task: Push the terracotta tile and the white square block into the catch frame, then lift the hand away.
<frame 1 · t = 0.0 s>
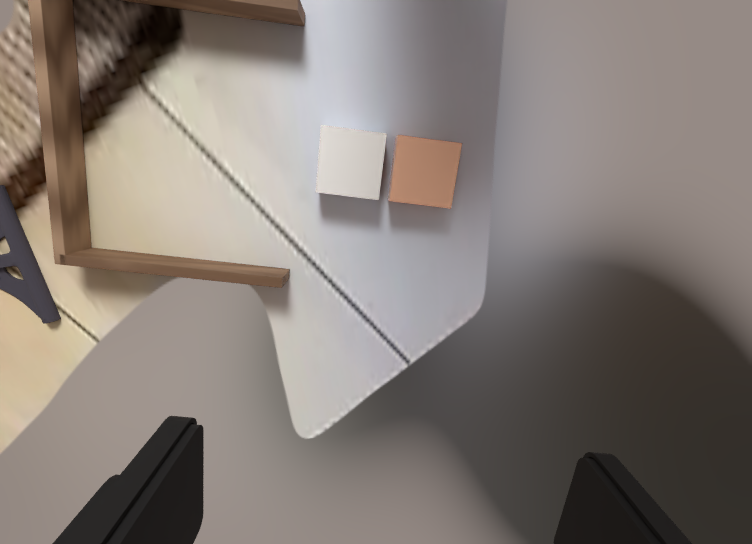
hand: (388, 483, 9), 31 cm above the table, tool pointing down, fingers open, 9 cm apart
white square block: (351, 164, 38), on the table
terracotta tile: (420, 172, 38), on the table
catch frame: (188, 143, 36), on the table
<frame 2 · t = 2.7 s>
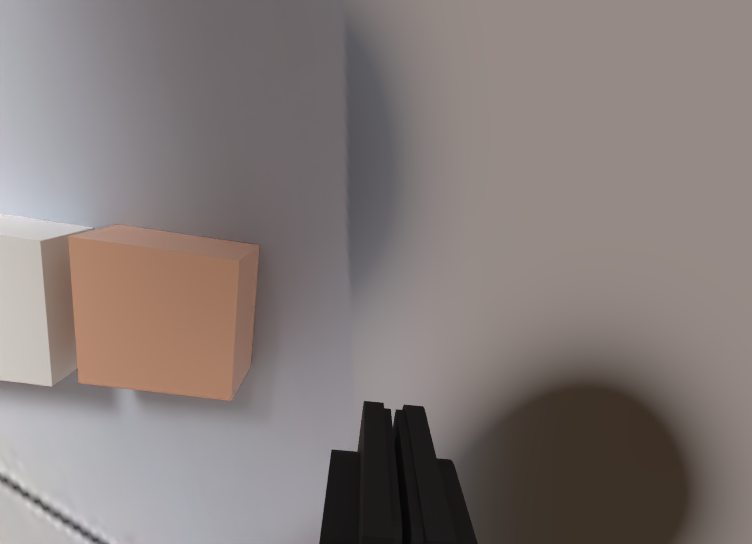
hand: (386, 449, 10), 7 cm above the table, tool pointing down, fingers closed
white square block: (31, 281, 17), on the table
terracotta tile: (190, 297, 17), on the table
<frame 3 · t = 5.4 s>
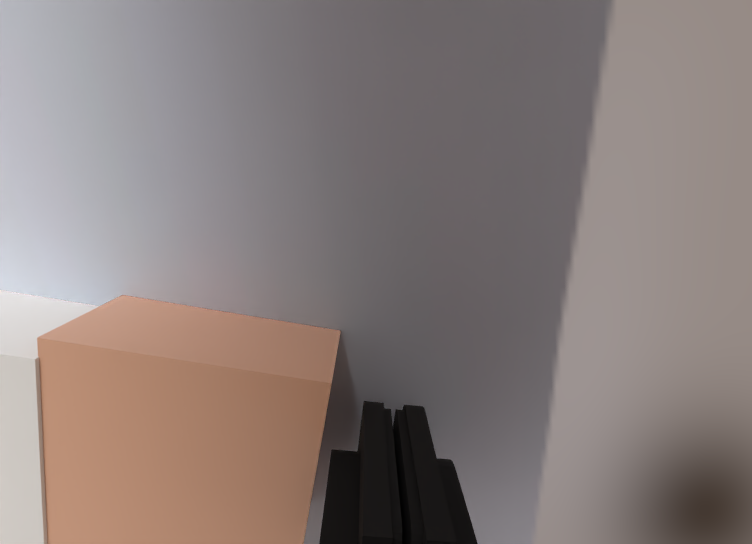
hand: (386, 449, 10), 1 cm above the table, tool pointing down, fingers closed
white square block: (19, 384, 11), on the table, touching terracotta tile
terracotta tile: (228, 400, 11), on the table, touching white square block
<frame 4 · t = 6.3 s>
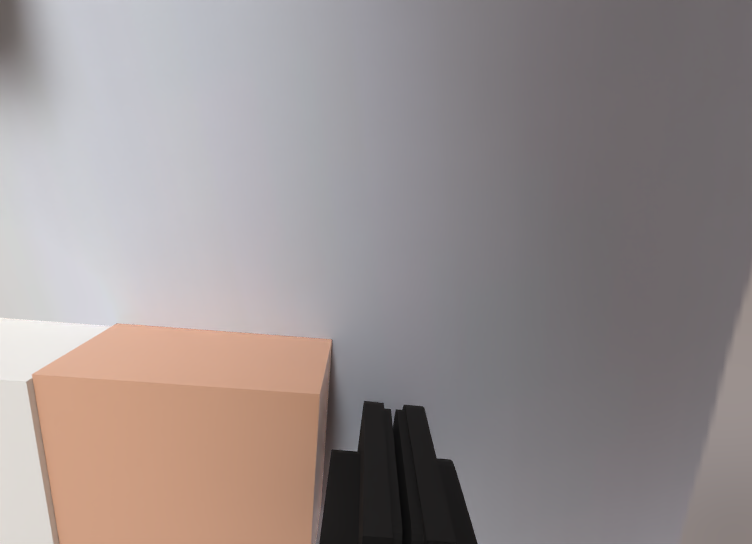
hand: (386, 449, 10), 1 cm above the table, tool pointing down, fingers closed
white square block: (26, 409, 11), on the table
terracotta tile: (230, 416, 12), on the table, touching gripper
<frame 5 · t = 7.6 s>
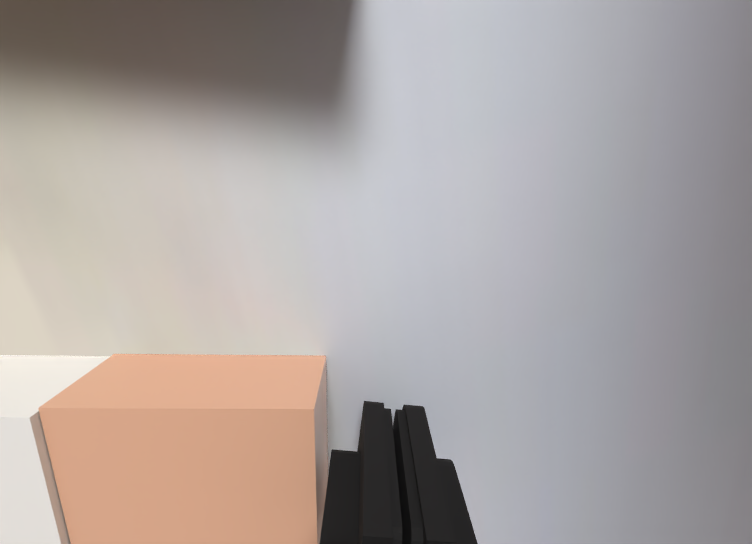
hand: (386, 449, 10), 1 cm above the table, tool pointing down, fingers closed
white square block: (37, 438, 12), on the table
terracotta tile: (234, 433, 12), on the table, touching gripper
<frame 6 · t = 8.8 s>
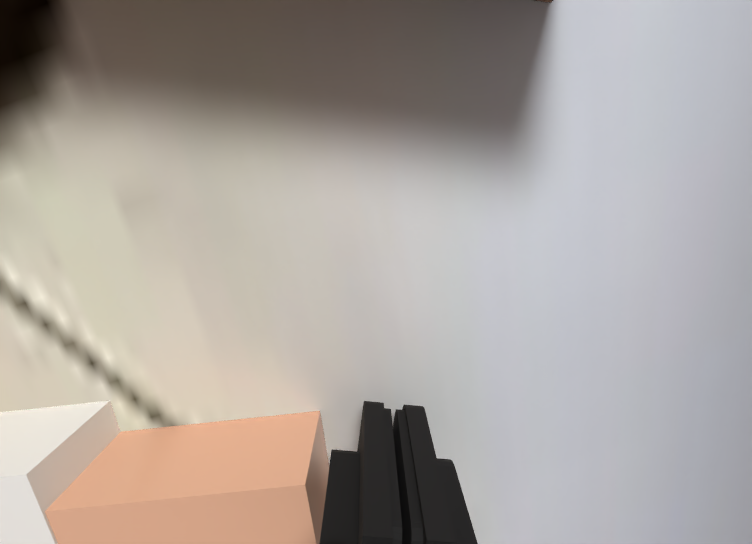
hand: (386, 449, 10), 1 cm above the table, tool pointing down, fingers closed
white square block: (49, 487, 12), on the table
terracotta tile: (243, 494, 12), on the table, touching gripper
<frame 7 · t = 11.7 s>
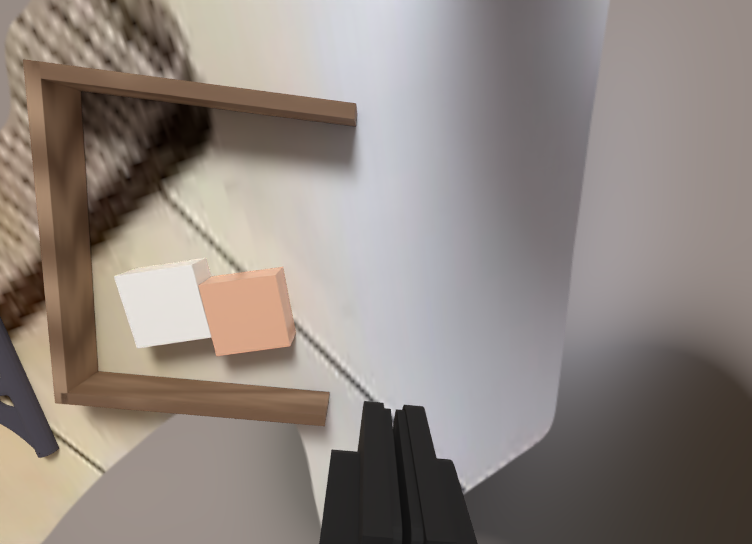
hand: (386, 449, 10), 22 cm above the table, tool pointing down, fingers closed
white square block: (182, 296, 32), on the table
terracotta tile: (256, 304, 32), on the table
catch frame: (215, 256, 31), on the table
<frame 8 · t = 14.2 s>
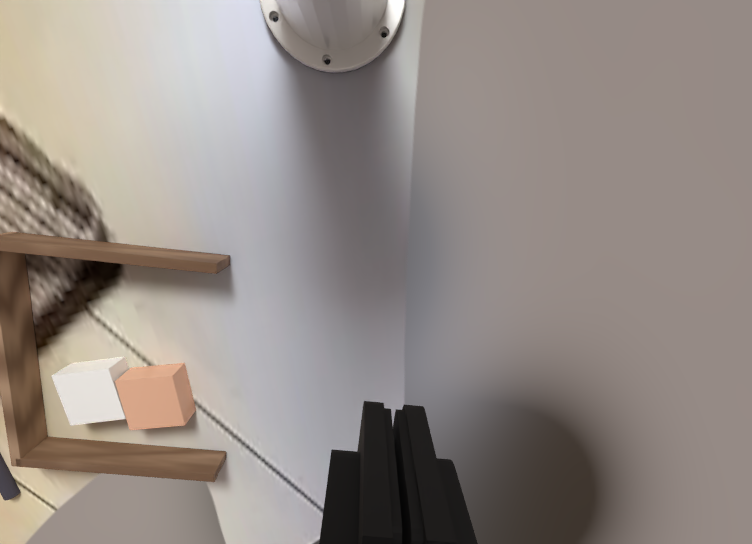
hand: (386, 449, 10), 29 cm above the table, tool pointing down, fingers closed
white square block: (108, 382, 42), on the table
terracotta tile: (165, 387, 42), on the table
catch frame: (130, 355, 41), on the table
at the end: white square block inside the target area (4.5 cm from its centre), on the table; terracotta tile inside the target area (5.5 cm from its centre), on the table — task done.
